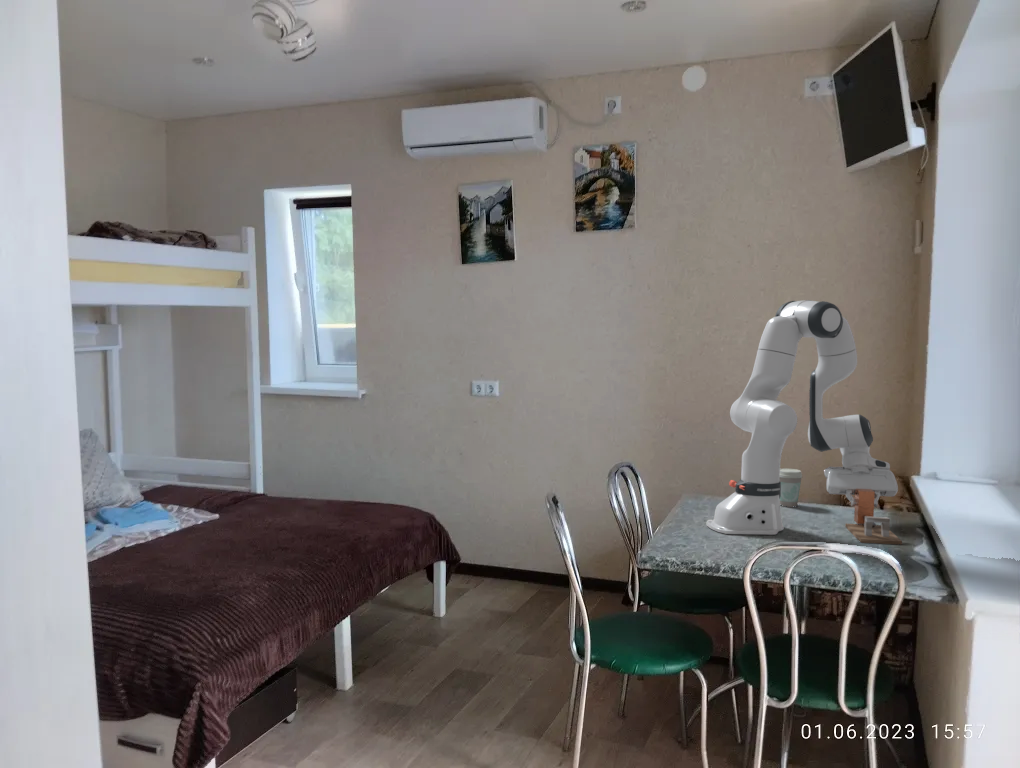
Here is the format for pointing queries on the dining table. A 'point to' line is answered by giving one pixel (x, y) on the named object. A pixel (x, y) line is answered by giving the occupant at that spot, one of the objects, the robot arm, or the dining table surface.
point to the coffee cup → (790, 486)
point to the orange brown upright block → (864, 505)
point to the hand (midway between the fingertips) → (864, 505)
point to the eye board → (874, 531)
